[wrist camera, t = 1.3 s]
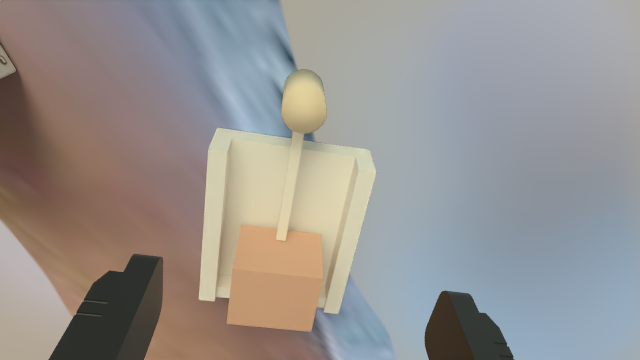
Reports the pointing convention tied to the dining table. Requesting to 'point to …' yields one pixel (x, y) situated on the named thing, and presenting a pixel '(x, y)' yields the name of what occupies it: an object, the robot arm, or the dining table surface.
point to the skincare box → (5, 64)
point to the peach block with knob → (282, 235)
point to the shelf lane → (266, 197)
